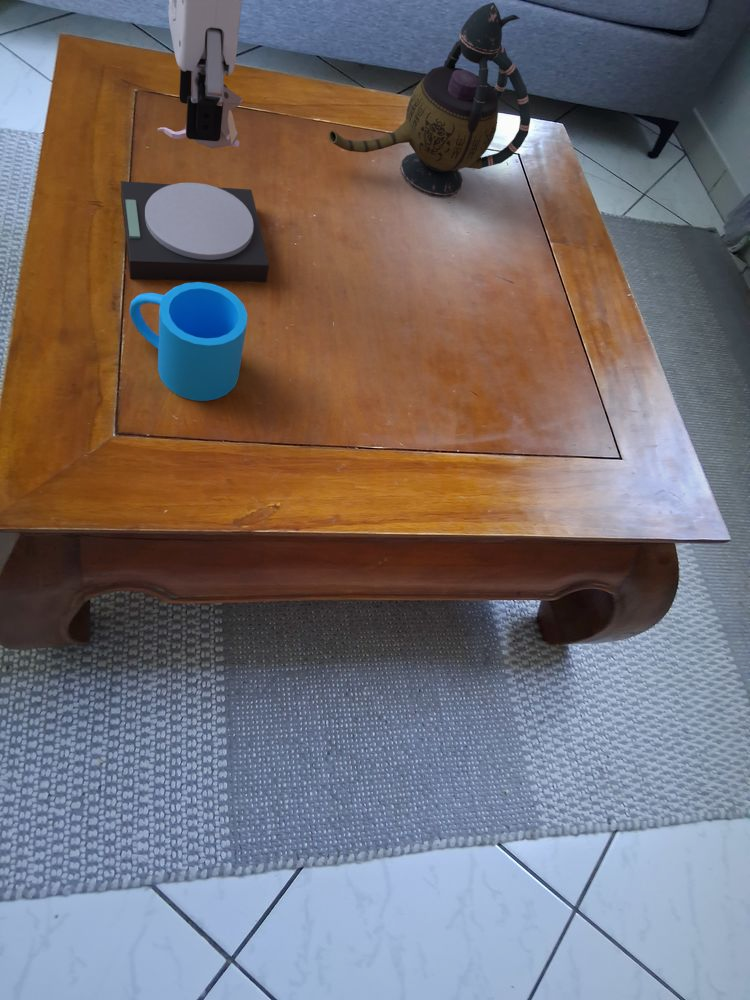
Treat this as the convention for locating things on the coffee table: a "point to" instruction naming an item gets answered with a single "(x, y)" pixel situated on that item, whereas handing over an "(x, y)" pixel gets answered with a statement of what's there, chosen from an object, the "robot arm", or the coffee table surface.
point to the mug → (196, 338)
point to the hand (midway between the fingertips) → (199, 118)
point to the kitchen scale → (192, 232)
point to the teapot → (456, 112)
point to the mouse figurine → (227, 125)
